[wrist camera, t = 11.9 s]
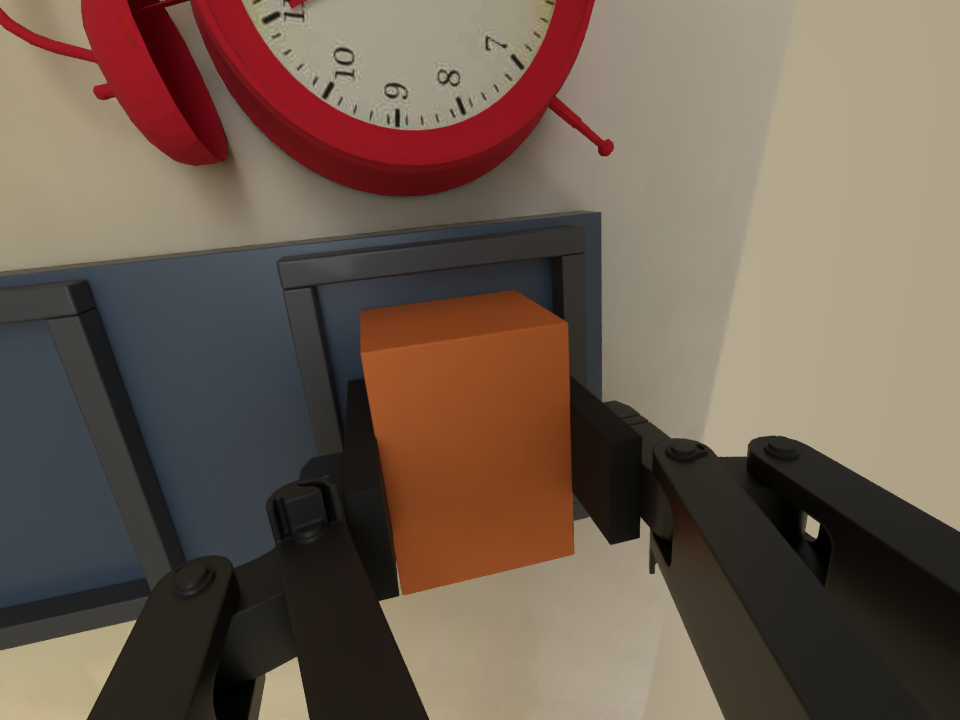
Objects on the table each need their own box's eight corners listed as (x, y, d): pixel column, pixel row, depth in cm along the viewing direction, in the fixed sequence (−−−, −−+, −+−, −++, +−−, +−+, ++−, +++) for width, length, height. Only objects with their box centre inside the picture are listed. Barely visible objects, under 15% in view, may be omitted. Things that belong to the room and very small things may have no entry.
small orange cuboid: (515, 289, 16) (568, 322, 12) (527, 474, 19) (575, 555, 14) (359, 309, 15) (360, 353, 11) (392, 502, 18) (402, 596, 14)
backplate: (582, 210, 18) (616, 213, 15) (587, 483, 21) (614, 519, 19) (-317, 305, 13) (-464, 329, 11) (-110, 631, 17) (-186, 702, 14)
